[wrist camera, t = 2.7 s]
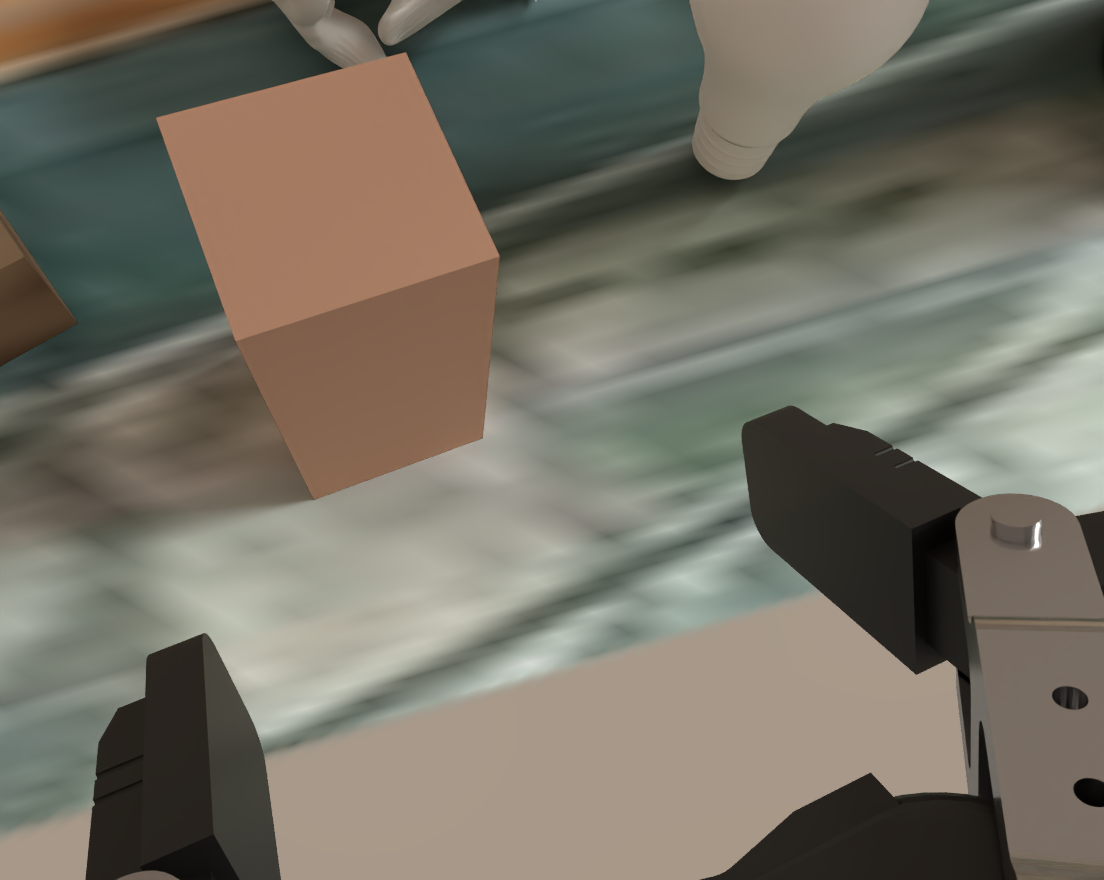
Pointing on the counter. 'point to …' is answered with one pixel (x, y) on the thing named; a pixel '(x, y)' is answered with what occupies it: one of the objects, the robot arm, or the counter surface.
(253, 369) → the terracotta block
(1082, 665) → the robot arm
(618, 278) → the counter surface
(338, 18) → the white lumpy piece
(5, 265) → the walnut base block
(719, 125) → the lightbulb
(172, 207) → the counter surface
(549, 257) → the counter surface
